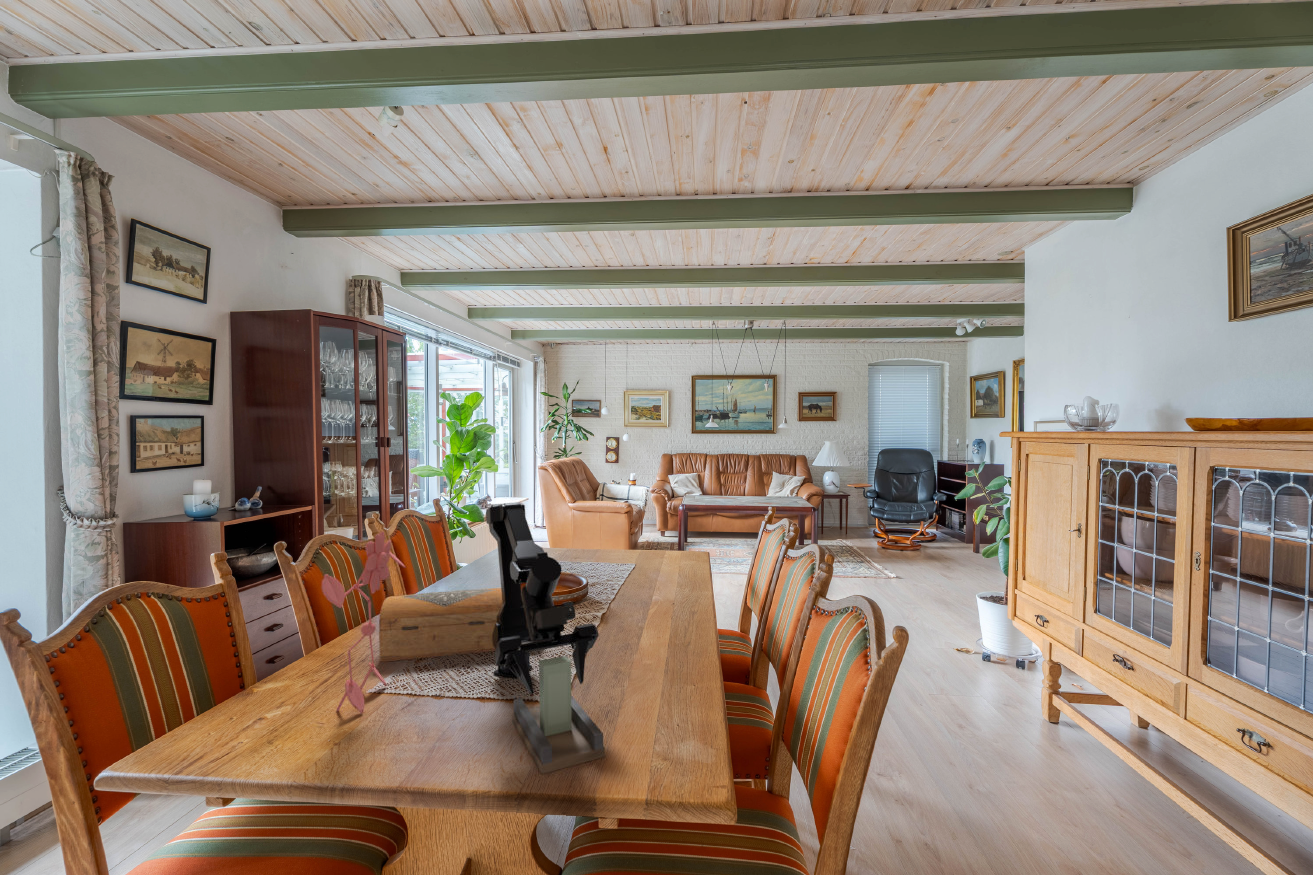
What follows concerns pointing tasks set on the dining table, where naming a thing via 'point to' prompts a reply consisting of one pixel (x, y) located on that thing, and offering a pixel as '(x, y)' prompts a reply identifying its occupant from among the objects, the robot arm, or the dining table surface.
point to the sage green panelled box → (555, 695)
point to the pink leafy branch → (374, 574)
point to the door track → (559, 738)
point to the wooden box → (438, 623)
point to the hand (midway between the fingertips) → (557, 687)
